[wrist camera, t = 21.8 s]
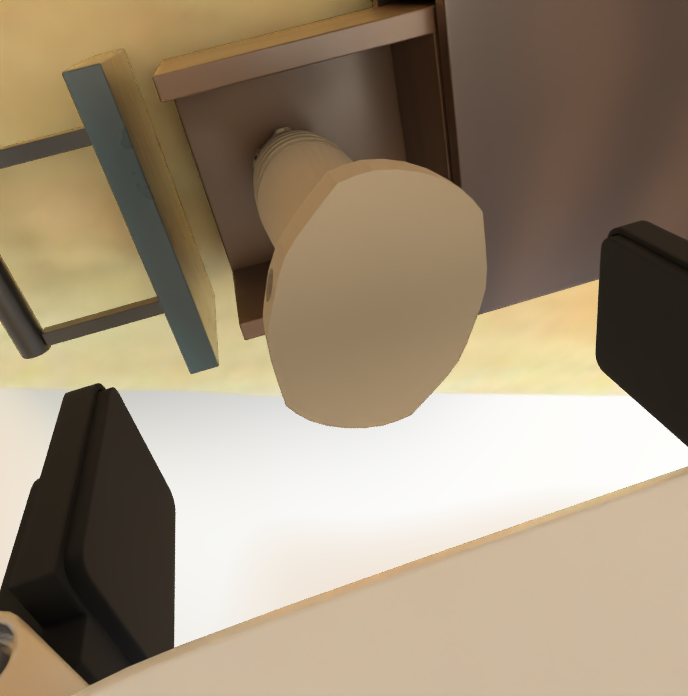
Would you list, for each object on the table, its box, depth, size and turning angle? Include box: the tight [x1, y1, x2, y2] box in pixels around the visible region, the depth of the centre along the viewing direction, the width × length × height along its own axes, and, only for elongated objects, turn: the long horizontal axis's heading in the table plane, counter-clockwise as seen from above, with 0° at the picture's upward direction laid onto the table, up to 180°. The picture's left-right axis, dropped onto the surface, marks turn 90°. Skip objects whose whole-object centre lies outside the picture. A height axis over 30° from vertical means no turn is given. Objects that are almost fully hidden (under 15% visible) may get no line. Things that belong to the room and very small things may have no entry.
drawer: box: [0, 1, 454, 374], centre depth 24 cm, size 19×11×7 cm, turn 102°
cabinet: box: [372, 0, 688, 315], centre depth 25 cm, size 14×13×9 cm
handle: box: [253, 126, 487, 428], centre depth 19 cm, size 5×6×15 cm
